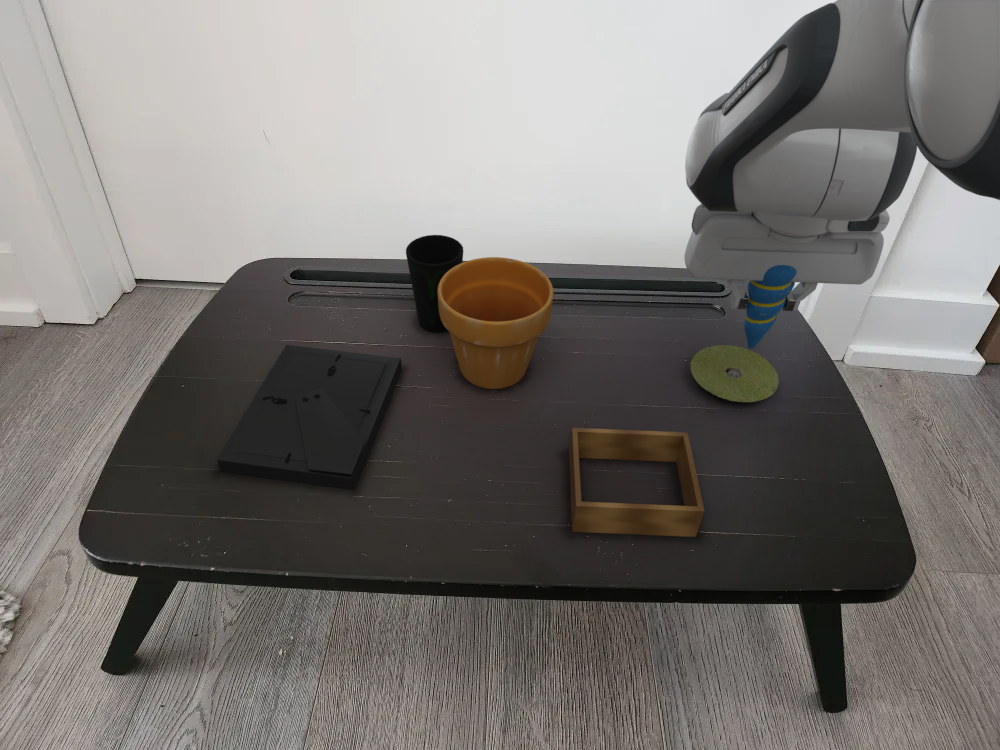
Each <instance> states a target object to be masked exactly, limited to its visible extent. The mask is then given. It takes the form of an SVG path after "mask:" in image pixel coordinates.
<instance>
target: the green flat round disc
mask: <svg viewBox="0 0 1000 750" xmlns="http://www.w3.org/2000/svg"><path fill="white" fill-rule="evenodd" d="M690 361H691V362H690V366H689V367H690V372H691V374H692V377H693V378H694V380H695V381H696V383H697V384H698V385H699V386H700V388H703V390H705V391H707V392H708V393H710V394H712V395H713V396H716V397H717V398H721V399H724V400H727V401H730V402H738V403H755V402H760V401H763V400H765V399H768V398H769V397H772V395H773V394H775V392H776V391H777V390H778V387H779V382H780V381H779V375H778V372H777V370H776V369H775V367H774V366H773V365H772V363H771V362H770V361H768V360H767V359H766V358H765V357H764V356H762V355H761V354H759V353H757V352H755V351H752V350H750V349H748V348H745V347H741V346H737V345H732V344H720V345H712V346H708V347H705V348H702V349H700V350H699V351H697V352H696V353H695V354H694V355H693V357H692V359H691V360H690Z"/></svg>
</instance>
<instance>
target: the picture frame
mask: <svg viewBox="0 0 1000 750" xmlns="http://www.w3.org/2000/svg"><path fill="white" fill-rule="evenodd" d="M402 371H403V367H402V358H401V357H393V356H385V355H377V354H376V355H375V354H370V353H369V354H368V353H361V352H360V353H359V352H352V351H344V350H335V349H325V348H318V347H310V346H300V345H293V344H285V346H284V347H283V350H281V352H280V354H279V356H278V358H277V360H276V361H275V362H274V364H273V365H272V367H271V369H270V371H269V373H268V374H267V376H266V377H265V379H264V381H263V383H262V384H261V386H260V387H259V389H258V391H257V392H256V394H255V396H254V398H253V399H252V401H251V403H250V404H249V406H248V408H247V409H246V411H245V413H244V415H242V418H241V419H240V421H239V423H238V425H237V426H236V427H235V429H234V431H233V433H232V434H231V436H230V437H229V439H228V441H227V443H226V444H225V446H224V448H222V449H223V450H222V451H221V453H220V455H219V456H218V457H217V463H218V466H219V470H220V471H221V472H222V473H228V474H236V475H243V476H248V477H249V476H250V477H257V478H264V479H272V480H279V481H284V482H285V481H286V482H292V483H293V482H294V483H299V484H307V485H314V486H321V487H329V488H335V489H336V488H337V489H343V490H349V491H355V490H356V488H357V486H358V483H359V480H360V478H361V476H362V472H363V470H364V468H365V465H366V462H367V460H368V457H369V455H370V452H371V449H372V447H373V445H374V442H375V440H376V437H377V435H378V432H379V429H380V427H381V425H382V422H383V419H384V417H385V414H386V412H387V410H388V407H389V404H390V401H391V399H392V396H393V394H394V392H395V389H396V386H397V383H398V381H399V379H400V376H401V374H402Z"/></svg>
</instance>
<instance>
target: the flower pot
mask: <svg viewBox="0 0 1000 750" xmlns="http://www.w3.org/2000/svg"><path fill="white" fill-rule="evenodd" d="M553 301H554V287H553V284H552V281H551V280H550V279H549V277H548V276H547V275H546V274H545V273H544V272H543V271H541V270H540V269H539V268H538V267H536V266H535V265H532V264H530V263H527V262H525V261H522V260H518V259H514V258H509V257H500V256H499V257H498V256H497V257H496V256H489V257H479V258H474V259H470V260H467V261H463V262H462V263H461V264H459V265H457V266H455V267H453V268H452V269H450V270H449V271H448V272H447V273H446V274H445V275H444V276H443V277H442V279H441V281H440V283H439V286H438V306H439V314H440V318H441V321H442V323H443V325H444V326H445V328H446V329H447V330H448V331H447V332H449V335H450V338H451V342H452V346H453V349H454V352H455V356H456V359H457V363H458V366H459V369H460V372H461V374H462V376H463V377H464V379H466V381H468V382H469V383H470V384H472V385H474V386H476V387H478V388H482V389H488V390H501V389H506V388H508V387H513V386H514V385H515V384H516V385H517V384H518V383H519V382H520V381H521V380H522V379H523V377H524V376H525V374H526V372H527V369H528V367H529V364H530V361H531V358H532V357H533V353H534V351H535V348H536V344H537V343H538V342H537V341H538V339H539V336H540V335H541V334H542V333H543V332H544V331H545V329H546V328H547V327H548V325H549V323H550V320H551V316H552V310H553Z"/></svg>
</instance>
